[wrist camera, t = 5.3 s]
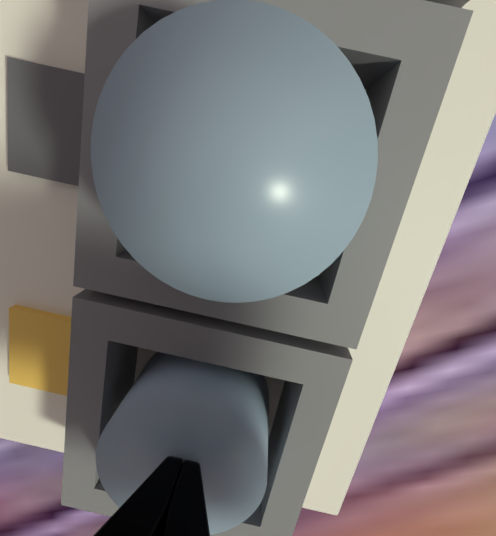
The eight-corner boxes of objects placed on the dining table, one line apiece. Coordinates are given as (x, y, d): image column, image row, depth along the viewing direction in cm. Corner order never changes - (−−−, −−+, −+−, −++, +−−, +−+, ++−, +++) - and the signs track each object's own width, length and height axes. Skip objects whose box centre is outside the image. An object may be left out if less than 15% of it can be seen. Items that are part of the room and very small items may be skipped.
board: (662, -371, 7) (999, -838, 4) (333, 496, 14) (351, 593, 11) (-3, -501, 7) (-232, -1051, 4) (6, 421, 14) (-72, 494, 11)
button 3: (282, 354, 11) (285, 422, 8) (254, 459, 12) (247, 552, 9) (148, 323, 11) (102, 380, 8) (133, 432, 12) (89, 515, 9)
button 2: (364, 87, 7) (422, 36, 4) (312, 274, 9) (330, 327, 6) (168, 46, 7) (101, -32, 4) (145, 237, 9) (82, 272, 6)
